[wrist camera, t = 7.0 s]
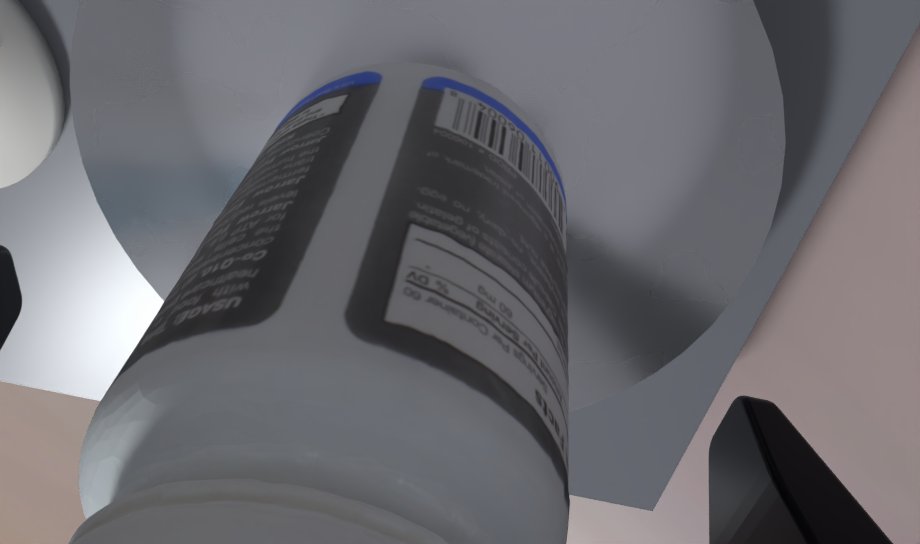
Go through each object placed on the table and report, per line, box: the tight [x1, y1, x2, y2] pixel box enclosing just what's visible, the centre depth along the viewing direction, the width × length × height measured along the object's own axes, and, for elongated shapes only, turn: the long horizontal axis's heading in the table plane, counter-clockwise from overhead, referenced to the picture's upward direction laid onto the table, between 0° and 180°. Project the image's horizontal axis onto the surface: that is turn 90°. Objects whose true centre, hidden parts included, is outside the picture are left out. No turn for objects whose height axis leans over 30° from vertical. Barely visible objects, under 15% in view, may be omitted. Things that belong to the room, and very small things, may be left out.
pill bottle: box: [69, 62, 570, 544], centre depth 9 cm, size 5×5×8 cm
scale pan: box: [70, 0, 786, 412], centre depth 13 cm, size 11×11×1 cm
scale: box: [0, 0, 920, 511], centre depth 14 cm, size 18×16×4 cm
